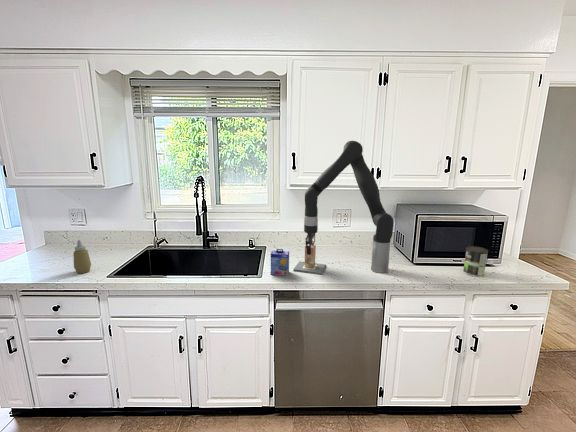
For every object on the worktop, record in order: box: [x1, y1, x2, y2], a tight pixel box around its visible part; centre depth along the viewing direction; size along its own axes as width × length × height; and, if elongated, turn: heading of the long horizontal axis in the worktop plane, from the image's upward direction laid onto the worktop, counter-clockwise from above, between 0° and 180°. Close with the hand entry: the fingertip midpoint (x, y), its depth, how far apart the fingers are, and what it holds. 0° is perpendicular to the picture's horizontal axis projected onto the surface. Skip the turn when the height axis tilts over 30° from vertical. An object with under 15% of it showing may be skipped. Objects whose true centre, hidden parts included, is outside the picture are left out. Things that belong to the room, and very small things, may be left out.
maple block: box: [304, 256, 316, 268], centre depth 177 cm, size 5×5×6 cm
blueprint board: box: [292, 260, 327, 275], centre depth 178 cm, size 16×13×1 cm
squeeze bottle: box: [73, 239, 92, 275], centre depth 169 cm, size 8×8×18 cm
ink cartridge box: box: [270, 248, 290, 276], centre depth 170 cm, size 10×6×14 cm, turn 86°
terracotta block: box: [304, 244, 317, 258], centre depth 176 cm, size 5×5×6 cm
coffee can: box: [462, 245, 489, 278], centre depth 172 cm, size 10×10×14 cm
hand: (310, 252), depth 176 cm, fingers open, 6 cm apart
